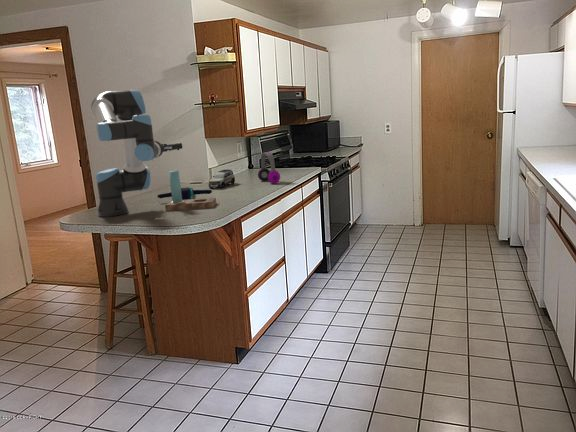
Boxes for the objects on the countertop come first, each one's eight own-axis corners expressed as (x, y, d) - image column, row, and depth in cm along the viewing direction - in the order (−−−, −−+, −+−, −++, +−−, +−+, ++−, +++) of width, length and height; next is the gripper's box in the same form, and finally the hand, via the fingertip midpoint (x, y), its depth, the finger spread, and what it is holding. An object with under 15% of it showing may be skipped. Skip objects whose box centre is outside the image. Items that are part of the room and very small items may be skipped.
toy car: (206, 190, 321) (205, 174, 319) (219, 183, 344) (217, 169, 342) (225, 189, 318) (224, 173, 316) (237, 183, 342) (235, 168, 340)
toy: (162, 199, 304) (155, 206, 275) (160, 185, 303) (153, 192, 274) (213, 194, 308) (212, 201, 278) (212, 181, 306) (210, 186, 277)
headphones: (257, 181, 341) (254, 152, 336) (269, 179, 344) (266, 150, 340) (269, 184, 322) (266, 153, 318) (281, 183, 326) (279, 152, 321)
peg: (171, 203, 258) (167, 172, 255) (174, 201, 263) (170, 171, 260) (181, 202, 258) (177, 171, 255) (183, 200, 263) (179, 170, 260)
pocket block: (166, 212, 256) (165, 204, 255) (172, 208, 268) (171, 200, 267) (212, 209, 255) (211, 201, 254) (216, 205, 267) (215, 197, 266)
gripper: (126, 160, 225) (141, 155, 246) (181, 156, 224) (191, 151, 245) (124, 143, 224) (139, 140, 245) (179, 139, 223) (189, 136, 244)
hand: (165, 145), depth 245 cm, fingers open, 13 cm apart
